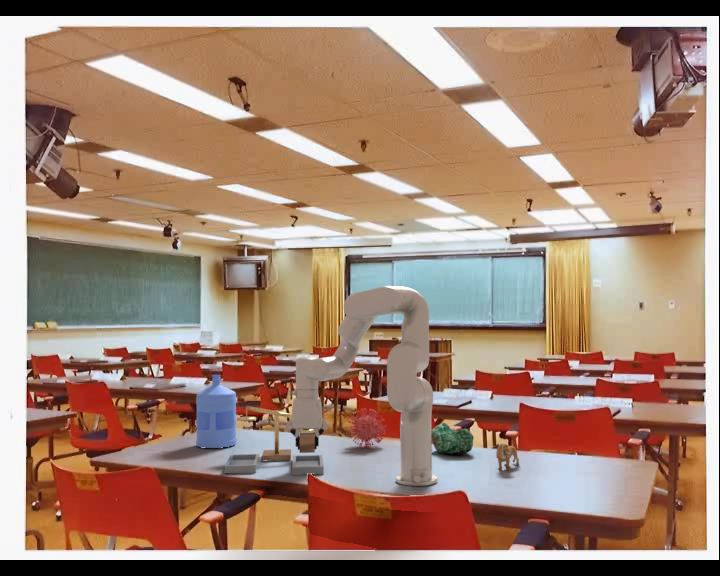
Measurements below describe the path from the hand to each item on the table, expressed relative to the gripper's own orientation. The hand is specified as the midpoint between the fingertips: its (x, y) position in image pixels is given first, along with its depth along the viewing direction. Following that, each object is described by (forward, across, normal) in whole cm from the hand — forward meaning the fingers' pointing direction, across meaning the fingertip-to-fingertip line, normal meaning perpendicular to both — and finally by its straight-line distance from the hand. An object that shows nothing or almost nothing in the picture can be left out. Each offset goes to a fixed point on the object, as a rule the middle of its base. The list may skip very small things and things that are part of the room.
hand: (307, 448), depth 222 cm
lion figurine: (+6, +66, -9) cm, 67 cm away
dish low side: (+7, 0, 0) cm, 7 cm away
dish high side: (+7, -22, +5) cm, 23 cm away
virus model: (+7, +23, +33) cm, 41 cm away
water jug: (+8, -36, +45) cm, 58 cm away
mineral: (+7, +53, +18) cm, 57 cm away
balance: (+7, -11, +18) cm, 22 cm away
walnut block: (+1, 0, 0) cm, 1 cm away
